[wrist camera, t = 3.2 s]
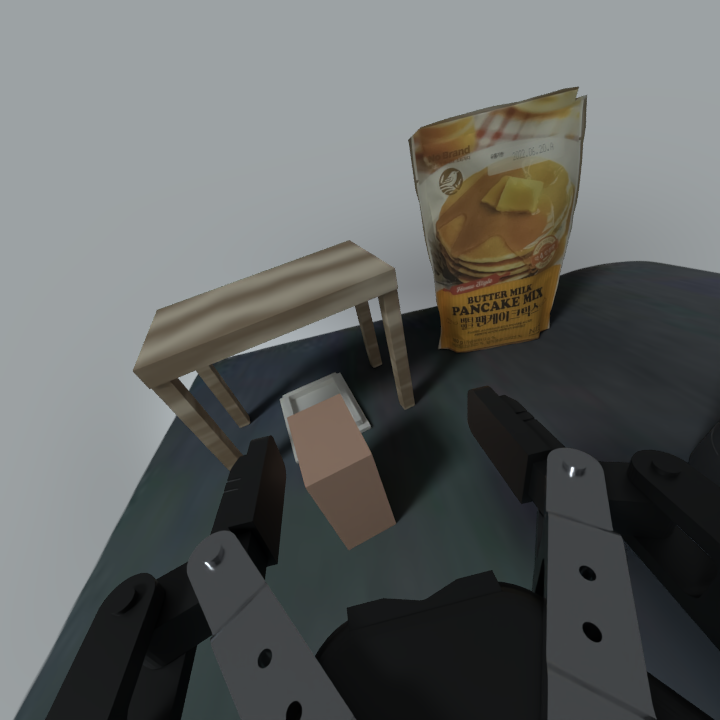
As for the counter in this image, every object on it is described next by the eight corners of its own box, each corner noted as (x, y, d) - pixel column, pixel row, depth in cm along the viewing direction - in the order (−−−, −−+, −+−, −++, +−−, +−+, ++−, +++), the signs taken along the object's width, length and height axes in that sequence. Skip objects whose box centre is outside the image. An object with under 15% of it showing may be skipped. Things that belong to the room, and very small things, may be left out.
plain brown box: (396, 523, 28) (371, 454, 21) (348, 550, 27) (305, 487, 20) (367, 465, 33) (340, 393, 26) (327, 485, 33) (286, 417, 25)
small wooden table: (415, 406, 38) (394, 268, 27) (245, 489, 35) (132, 371, 23) (377, 358, 48) (349, 240, 36) (239, 419, 44) (157, 310, 32)
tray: (371, 428, 37) (368, 420, 36) (297, 463, 36) (292, 457, 35) (340, 374, 47) (338, 367, 46) (280, 401, 45) (277, 394, 44)
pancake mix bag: (424, 335, 50) (402, 129, 32) (543, 312, 47) (589, 77, 30) (432, 360, 44) (412, 131, 27) (566, 336, 42) (639, 68, 25)
